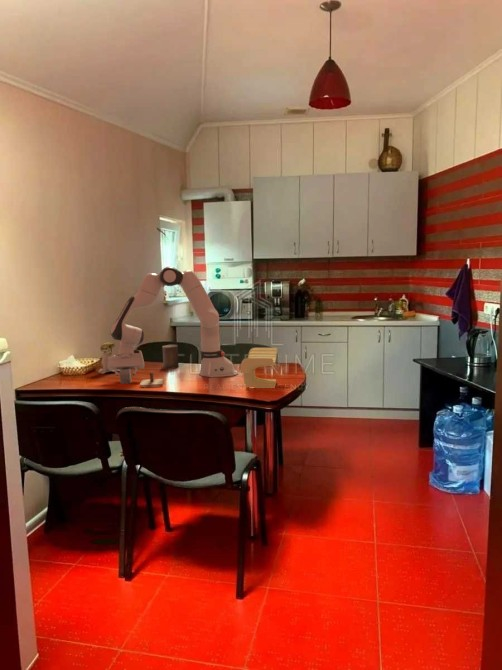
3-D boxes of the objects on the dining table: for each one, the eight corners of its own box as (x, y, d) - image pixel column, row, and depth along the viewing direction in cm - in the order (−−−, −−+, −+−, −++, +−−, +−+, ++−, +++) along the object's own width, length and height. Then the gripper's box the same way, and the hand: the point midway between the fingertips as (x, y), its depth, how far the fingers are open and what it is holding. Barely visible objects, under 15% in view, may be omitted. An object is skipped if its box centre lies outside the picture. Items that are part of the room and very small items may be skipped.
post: (163, 381, 286) (163, 370, 285) (162, 386, 274) (161, 374, 273) (142, 382, 285) (141, 370, 284) (139, 387, 273) (139, 375, 272)
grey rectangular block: (131, 381, 288) (130, 367, 287) (130, 383, 283) (129, 369, 282) (121, 381, 287) (121, 367, 286) (120, 383, 282) (119, 369, 281)
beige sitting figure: (122, 372, 312) (121, 342, 309) (101, 375, 306) (99, 344, 303) (118, 368, 322) (116, 340, 319) (97, 371, 316) (95, 342, 313)
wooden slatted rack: (249, 378, 288) (248, 347, 286) (277, 378, 286) (277, 347, 283) (241, 392, 259) (240, 358, 256) (272, 393, 257) (272, 358, 254)
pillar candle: (181, 366, 324) (180, 343, 322) (170, 369, 317) (168, 345, 315) (172, 365, 330) (170, 342, 328) (160, 367, 323) (158, 344, 321)
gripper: (107, 352, 288) (105, 372, 280) (144, 350, 290) (143, 371, 282) (109, 358, 293) (107, 378, 285) (145, 356, 295) (144, 377, 287)
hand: (125, 375), depth 284 cm, fingers open, 8 cm apart
